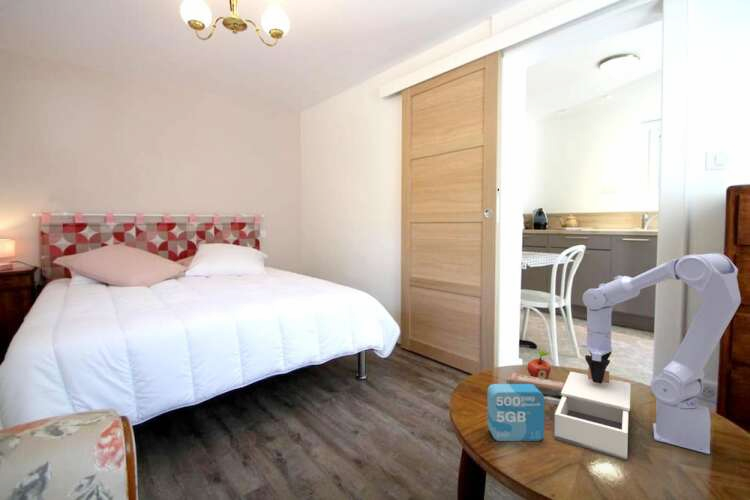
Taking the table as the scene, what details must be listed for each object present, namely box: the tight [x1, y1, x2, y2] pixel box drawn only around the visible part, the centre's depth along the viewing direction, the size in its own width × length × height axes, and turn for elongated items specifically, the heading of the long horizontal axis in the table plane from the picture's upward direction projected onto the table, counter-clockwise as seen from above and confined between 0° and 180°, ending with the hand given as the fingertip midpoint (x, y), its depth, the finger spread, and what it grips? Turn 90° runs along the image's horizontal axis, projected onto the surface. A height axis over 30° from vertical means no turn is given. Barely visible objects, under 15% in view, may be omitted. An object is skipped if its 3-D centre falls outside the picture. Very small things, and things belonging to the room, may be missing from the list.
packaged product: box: [506, 373, 565, 406], centre depth 106 cm, size 18×5×10 cm
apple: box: [526, 349, 551, 379], centre depth 114 cm, size 8×7×10 cm
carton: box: [554, 396, 629, 461], centre depth 85 cm, size 14×16×6 cm
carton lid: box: [561, 367, 632, 412], centre depth 93 cm, size 15×17×3 cm
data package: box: [486, 383, 545, 442], centre depth 84 cm, size 12×4×12 cm, turn 88°
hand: (598, 378), depth 98 cm, fingers open, 6 cm apart
